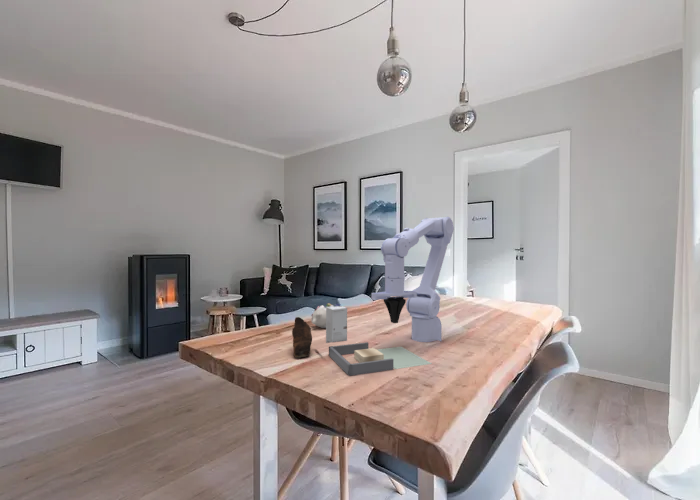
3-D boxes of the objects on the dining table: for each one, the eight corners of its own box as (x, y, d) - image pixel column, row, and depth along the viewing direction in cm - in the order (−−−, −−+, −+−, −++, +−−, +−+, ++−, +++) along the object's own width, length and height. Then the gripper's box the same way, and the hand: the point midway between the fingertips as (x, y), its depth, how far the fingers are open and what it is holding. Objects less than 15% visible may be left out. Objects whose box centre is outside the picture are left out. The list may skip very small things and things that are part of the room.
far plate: (401, 351, 102) (401, 346, 102) (431, 369, 87) (431, 363, 87) (368, 355, 98) (368, 350, 98) (395, 374, 83) (395, 369, 83)
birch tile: (373, 358, 94) (373, 347, 94) (383, 365, 88) (383, 354, 88) (354, 361, 92) (354, 350, 92) (363, 368, 86) (363, 357, 86)
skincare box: (332, 346, 107) (332, 309, 107) (325, 343, 111) (325, 307, 111) (348, 343, 110) (348, 307, 110) (340, 340, 114) (340, 305, 114)
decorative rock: (293, 347, 107) (293, 313, 107) (312, 346, 107) (312, 313, 107) (290, 359, 95) (290, 322, 95) (312, 359, 95) (312, 321, 95)
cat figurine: (332, 300, 142) (314, 301, 128) (346, 311, 139) (329, 313, 125) (320, 318, 143) (302, 321, 129) (334, 330, 140) (317, 334, 126)
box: (367, 355, 98) (367, 342, 98) (393, 375, 83) (393, 359, 83) (328, 360, 94) (328, 346, 94) (348, 382, 79) (348, 365, 79)
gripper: (408, 275, 106) (408, 318, 107) (367, 277, 101) (367, 321, 101) (420, 277, 100) (420, 322, 100) (377, 279, 95) (377, 326, 95)
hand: (394, 322), depth 100 cm, fingers closed
